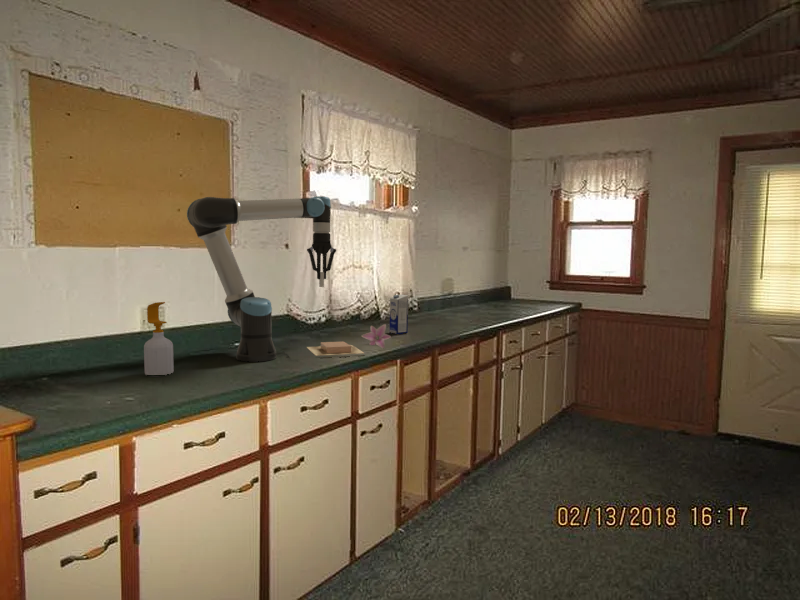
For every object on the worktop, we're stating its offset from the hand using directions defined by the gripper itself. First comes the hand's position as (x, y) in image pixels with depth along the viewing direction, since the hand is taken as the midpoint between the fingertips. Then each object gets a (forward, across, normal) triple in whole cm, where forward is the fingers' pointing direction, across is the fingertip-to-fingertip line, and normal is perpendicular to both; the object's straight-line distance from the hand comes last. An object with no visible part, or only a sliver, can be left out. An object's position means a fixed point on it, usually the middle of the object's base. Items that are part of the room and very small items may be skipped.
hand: (321, 286), depth 246 cm
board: (+26, -2, +17) cm, 31 cm away
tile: (+24, -2, +12) cm, 27 cm away
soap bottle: (+27, +64, +38) cm, 79 cm away
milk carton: (+27, -46, -27) cm, 60 cm away
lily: (+27, -23, +8) cm, 36 cm away
